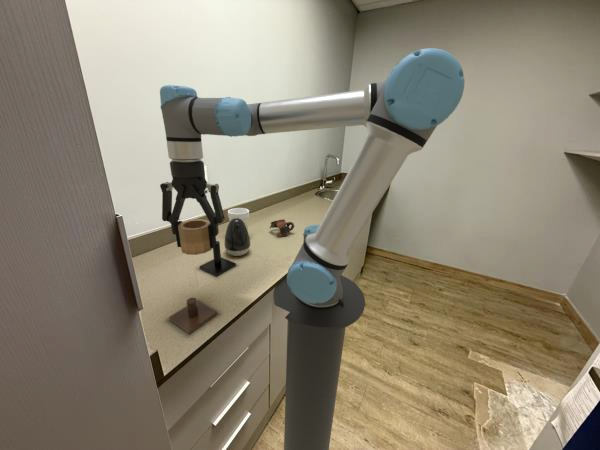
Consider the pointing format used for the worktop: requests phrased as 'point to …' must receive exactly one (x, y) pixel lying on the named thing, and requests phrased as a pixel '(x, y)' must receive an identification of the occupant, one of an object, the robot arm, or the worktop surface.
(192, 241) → the maple ring
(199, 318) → the low peg stand
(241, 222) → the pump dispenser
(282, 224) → the pottery mug
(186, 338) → the worktop surface
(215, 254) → the square base peg
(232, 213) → the foam cup
